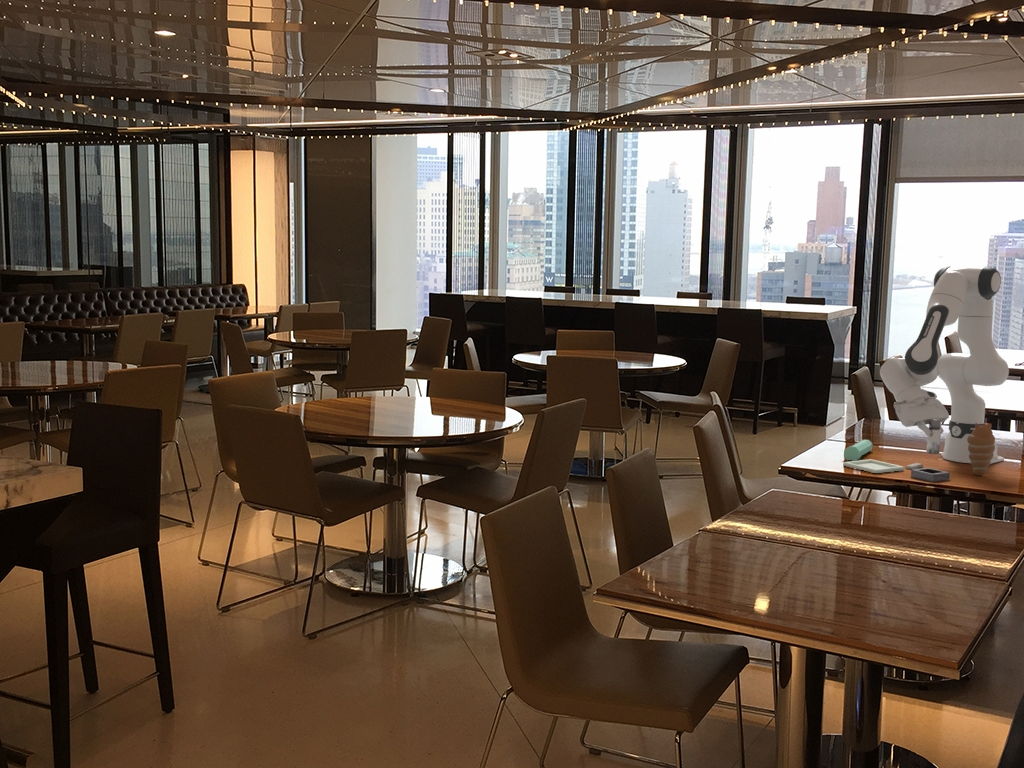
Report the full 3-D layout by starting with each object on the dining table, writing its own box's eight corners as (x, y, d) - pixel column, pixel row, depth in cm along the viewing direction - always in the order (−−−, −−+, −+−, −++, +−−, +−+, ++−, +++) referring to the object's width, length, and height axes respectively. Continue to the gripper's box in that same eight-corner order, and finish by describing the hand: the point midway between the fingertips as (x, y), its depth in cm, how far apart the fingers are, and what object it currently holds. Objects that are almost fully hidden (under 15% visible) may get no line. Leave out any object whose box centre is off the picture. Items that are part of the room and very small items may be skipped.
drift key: (915, 467, 341) (915, 462, 341) (922, 468, 340) (922, 463, 339) (905, 470, 336) (906, 465, 336) (912, 471, 334) (913, 466, 334)
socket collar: (927, 474, 326) (927, 467, 326) (949, 479, 319) (949, 472, 319) (910, 477, 322) (911, 469, 322) (932, 482, 315) (933, 474, 315)
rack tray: (870, 463, 344) (870, 459, 344) (903, 470, 332) (903, 466, 332) (843, 466, 337) (843, 462, 337) (875, 474, 325) (876, 470, 325)
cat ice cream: (987, 473, 331) (991, 421, 328) (997, 478, 323) (1002, 425, 321) (960, 472, 331) (965, 421, 329) (970, 477, 323) (975, 424, 321)
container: (863, 434, 369) (847, 442, 348) (877, 442, 366) (863, 450, 345) (856, 448, 371) (840, 457, 350) (870, 455, 368) (855, 465, 347)
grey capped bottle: (931, 450, 322) (933, 418, 321) (942, 453, 319) (944, 420, 318) (923, 452, 321) (925, 419, 319) (934, 454, 317) (936, 421, 316)
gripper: (897, 396, 318) (920, 430, 311) (938, 392, 328) (961, 425, 321) (885, 408, 323) (908, 441, 316) (926, 403, 333) (949, 436, 325)
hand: (935, 433), depth 318 cm, fingers closed on grey capped bottle, 4 cm apart
